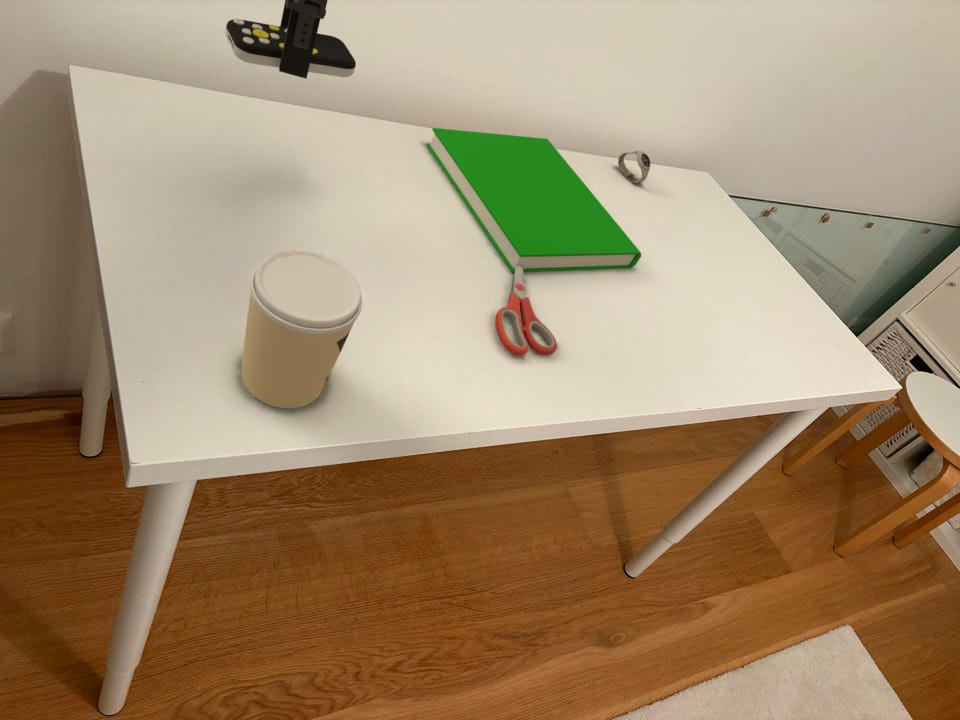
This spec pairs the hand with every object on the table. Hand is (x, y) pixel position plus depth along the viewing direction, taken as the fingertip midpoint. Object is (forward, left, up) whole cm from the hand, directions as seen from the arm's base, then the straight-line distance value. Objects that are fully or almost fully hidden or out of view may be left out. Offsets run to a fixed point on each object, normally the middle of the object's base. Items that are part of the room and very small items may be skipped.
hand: (292, 54), depth 75 cm
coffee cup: (+2, -29, -17) cm, 34 cm away
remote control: (0, 0, -1) cm, 1 cm away
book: (+38, +10, -17) cm, 43 cm away
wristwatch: (+62, +27, -17) cm, 70 cm away
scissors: (+30, -12, -17) cm, 37 cm away
